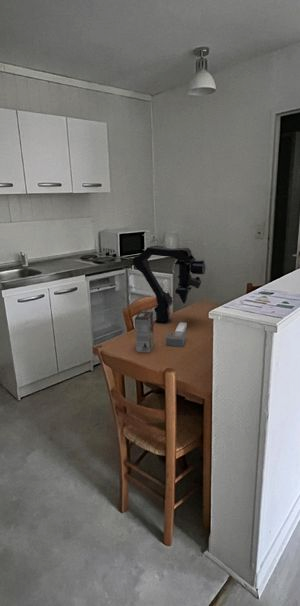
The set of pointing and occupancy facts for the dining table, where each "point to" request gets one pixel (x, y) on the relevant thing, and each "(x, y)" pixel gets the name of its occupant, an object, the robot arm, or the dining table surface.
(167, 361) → the dining table surface
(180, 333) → the slat
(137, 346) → the coffee box
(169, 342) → the end cap
